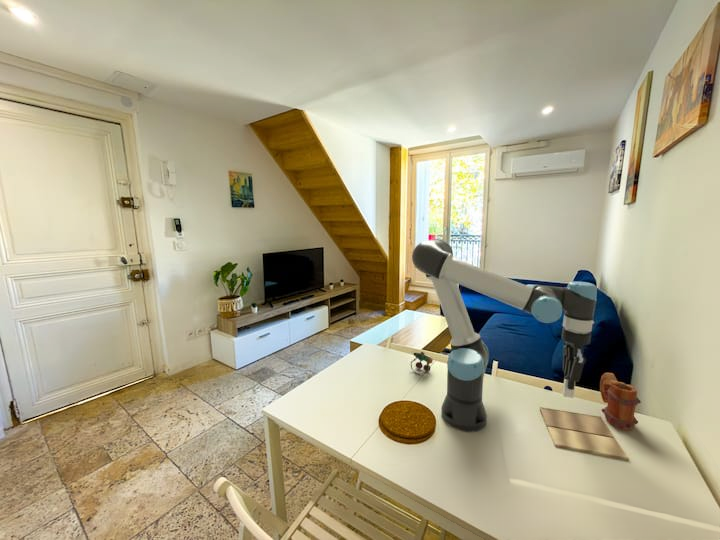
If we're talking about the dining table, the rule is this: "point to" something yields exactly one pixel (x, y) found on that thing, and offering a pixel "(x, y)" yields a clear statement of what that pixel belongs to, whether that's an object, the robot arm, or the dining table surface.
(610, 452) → the laid board
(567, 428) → the plank
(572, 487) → the dining table surface
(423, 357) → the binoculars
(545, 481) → the dining table surface
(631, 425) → the mug
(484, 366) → the robot arm
